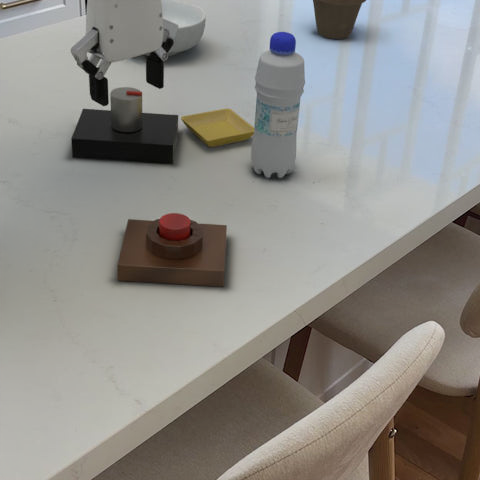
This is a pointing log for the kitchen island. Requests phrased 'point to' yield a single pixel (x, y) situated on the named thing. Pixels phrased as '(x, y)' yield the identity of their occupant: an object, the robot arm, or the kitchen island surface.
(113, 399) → the kitchen island surface
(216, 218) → the kitchen island surface
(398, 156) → the kitchen island surface
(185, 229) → the button
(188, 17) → the cereal bowl
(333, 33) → the flower pot
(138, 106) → the dial knob
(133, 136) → the black knob base
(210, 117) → the saucer
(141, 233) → the button block
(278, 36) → the bottle
